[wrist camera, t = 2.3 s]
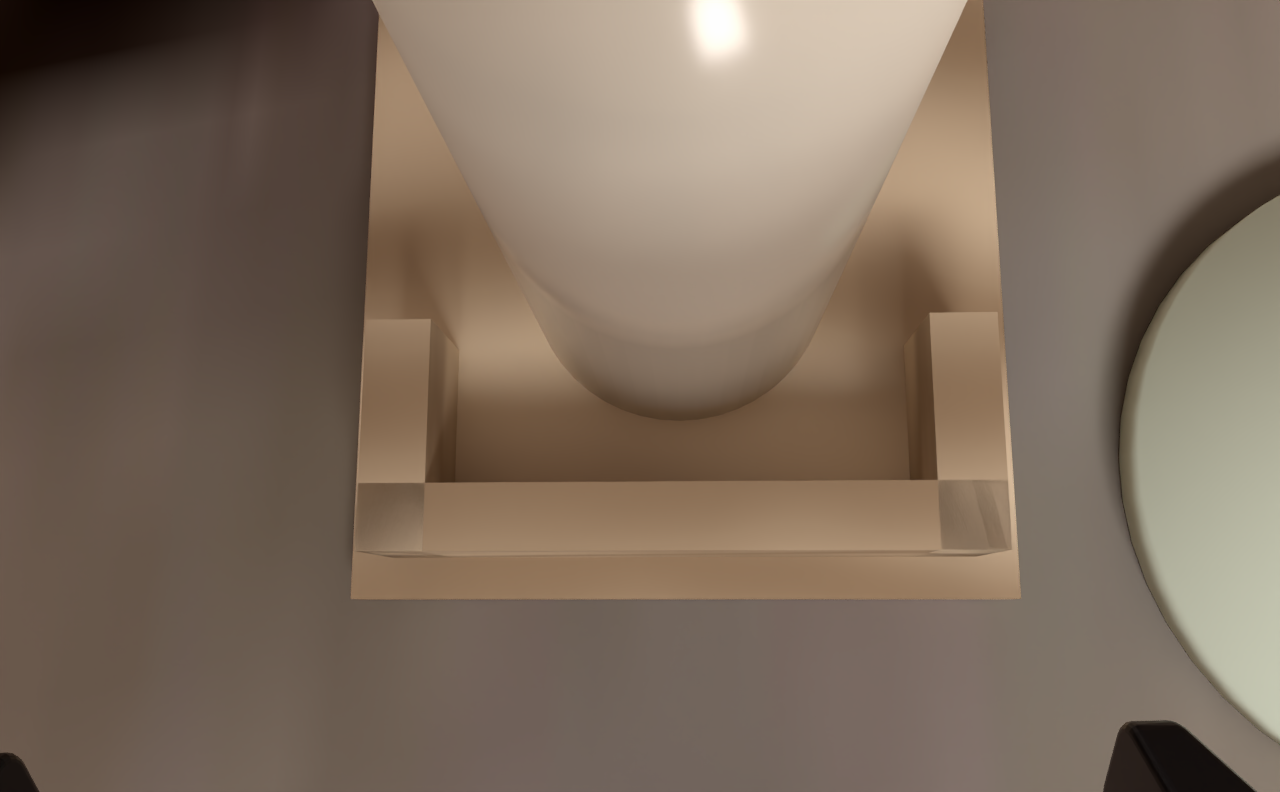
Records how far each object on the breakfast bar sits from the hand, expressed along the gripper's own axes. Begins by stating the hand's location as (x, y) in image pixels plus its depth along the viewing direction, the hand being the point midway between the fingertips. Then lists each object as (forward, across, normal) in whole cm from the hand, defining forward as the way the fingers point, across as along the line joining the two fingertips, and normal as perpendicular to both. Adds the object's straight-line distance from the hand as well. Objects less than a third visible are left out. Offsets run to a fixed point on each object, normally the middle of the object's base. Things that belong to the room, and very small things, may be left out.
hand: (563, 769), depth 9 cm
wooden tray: (+15, -1, +4) cm, 16 cm away
